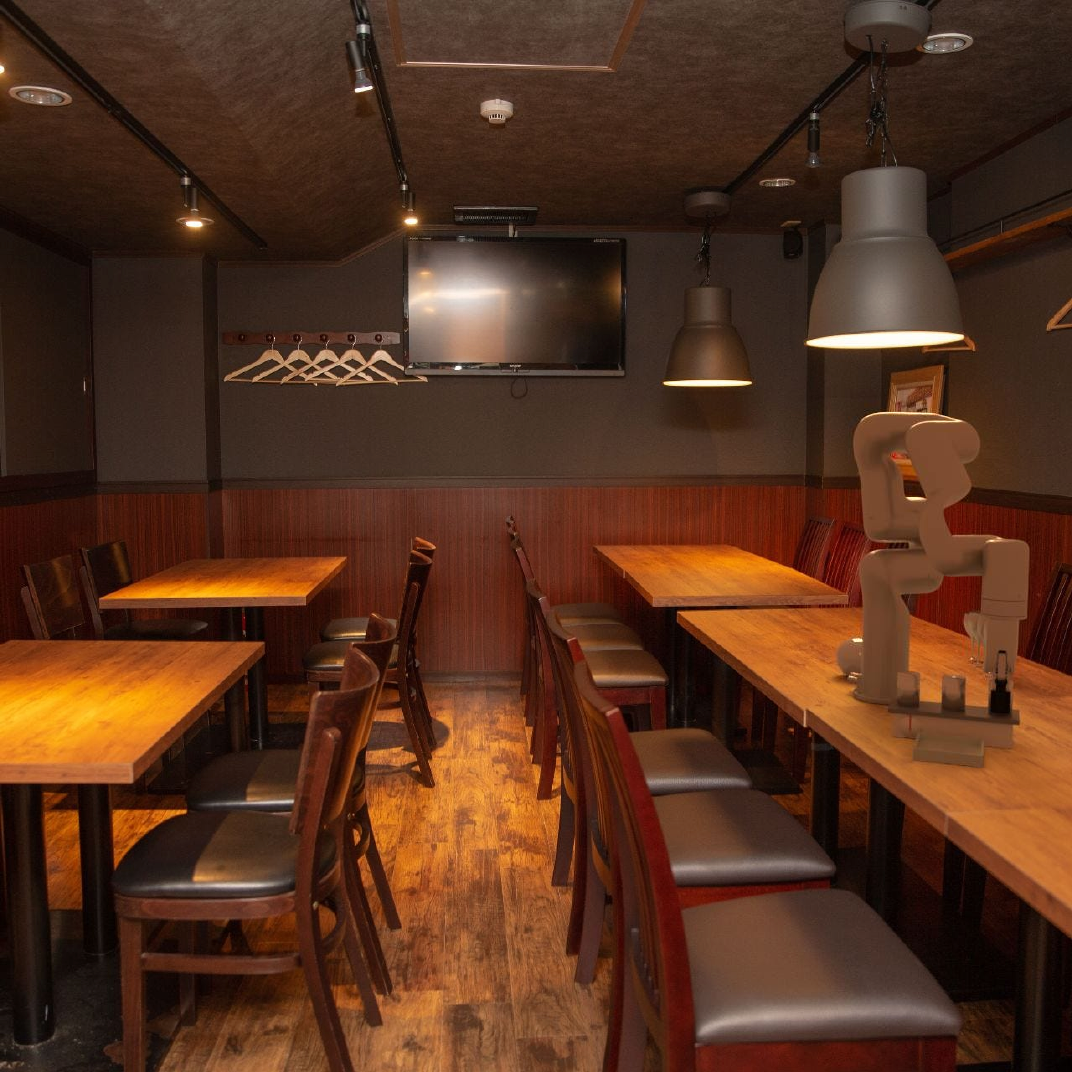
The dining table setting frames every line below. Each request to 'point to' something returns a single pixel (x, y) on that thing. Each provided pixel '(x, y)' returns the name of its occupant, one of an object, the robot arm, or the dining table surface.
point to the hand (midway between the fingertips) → (1000, 709)
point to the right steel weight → (990, 698)
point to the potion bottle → (850, 655)
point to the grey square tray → (949, 749)
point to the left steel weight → (908, 688)
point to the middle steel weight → (953, 692)
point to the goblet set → (976, 633)
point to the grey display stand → (954, 723)
